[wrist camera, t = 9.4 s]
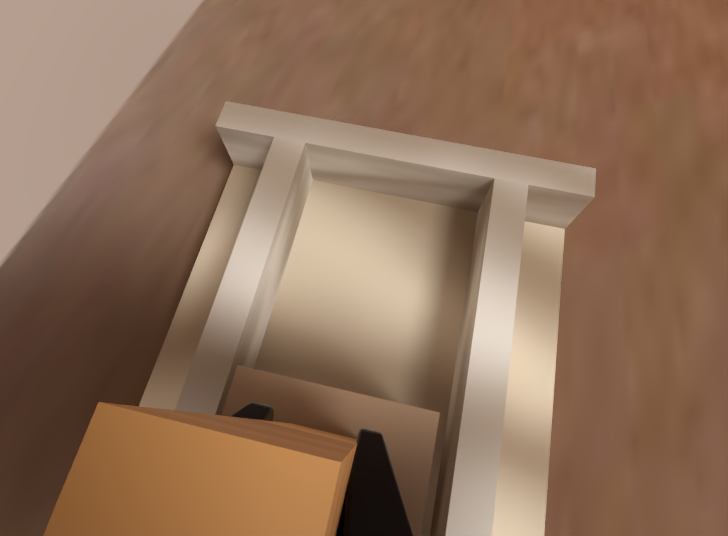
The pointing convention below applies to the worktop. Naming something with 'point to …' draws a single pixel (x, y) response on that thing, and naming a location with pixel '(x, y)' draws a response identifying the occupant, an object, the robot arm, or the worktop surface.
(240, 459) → the tan wooden block
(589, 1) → the worktop surface
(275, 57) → the worktop surface
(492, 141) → the worktop surface
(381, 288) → the lane tray
